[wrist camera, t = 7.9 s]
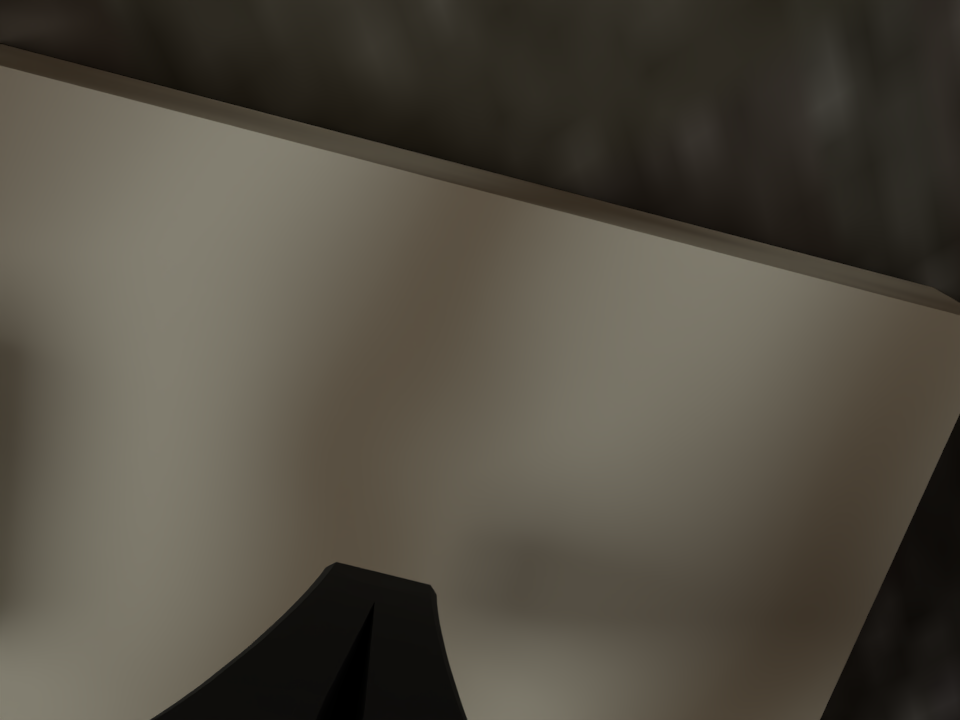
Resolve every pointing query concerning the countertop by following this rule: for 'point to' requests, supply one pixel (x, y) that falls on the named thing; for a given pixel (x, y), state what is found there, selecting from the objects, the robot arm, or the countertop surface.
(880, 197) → the countertop surface
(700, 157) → the countertop surface
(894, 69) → the countertop surface
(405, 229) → the board
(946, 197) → the countertop surface
